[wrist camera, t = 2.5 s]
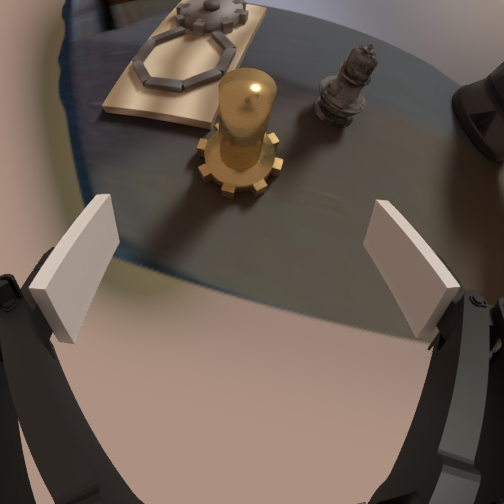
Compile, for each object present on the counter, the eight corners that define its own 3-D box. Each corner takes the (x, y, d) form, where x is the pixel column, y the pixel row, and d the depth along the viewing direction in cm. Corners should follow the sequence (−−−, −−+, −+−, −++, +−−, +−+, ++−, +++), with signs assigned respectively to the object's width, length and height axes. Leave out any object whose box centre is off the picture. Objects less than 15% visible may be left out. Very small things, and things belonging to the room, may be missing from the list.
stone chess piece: (321, 131, 31) (360, 63, 19) (304, 93, 31) (332, 23, 20) (362, 127, 31) (409, 68, 20) (344, 92, 32) (380, 30, 20)
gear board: (265, 14, 34) (269, -6, 29) (211, 130, 29) (210, 105, 25) (185, 4, 33) (183, -16, 29) (105, 112, 29) (93, 91, 24)
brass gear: (287, 139, 30) (316, 66, 18) (268, 209, 29) (296, 152, 17) (212, 120, 30) (209, 41, 18) (186, 187, 28) (165, 120, 16)
